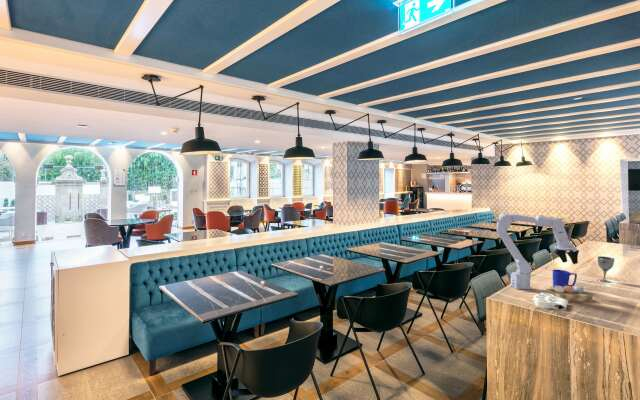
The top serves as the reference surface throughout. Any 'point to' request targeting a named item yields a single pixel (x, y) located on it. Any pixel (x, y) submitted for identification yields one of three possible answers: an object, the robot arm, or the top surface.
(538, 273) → the top surface
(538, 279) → the top surface
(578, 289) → the pale blue rounded lump
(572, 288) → the pink egg
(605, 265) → the wine glass
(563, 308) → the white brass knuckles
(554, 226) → the robot arm
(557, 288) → the pale grey rounded piece
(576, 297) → the wooden compartment tray
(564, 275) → the mug
